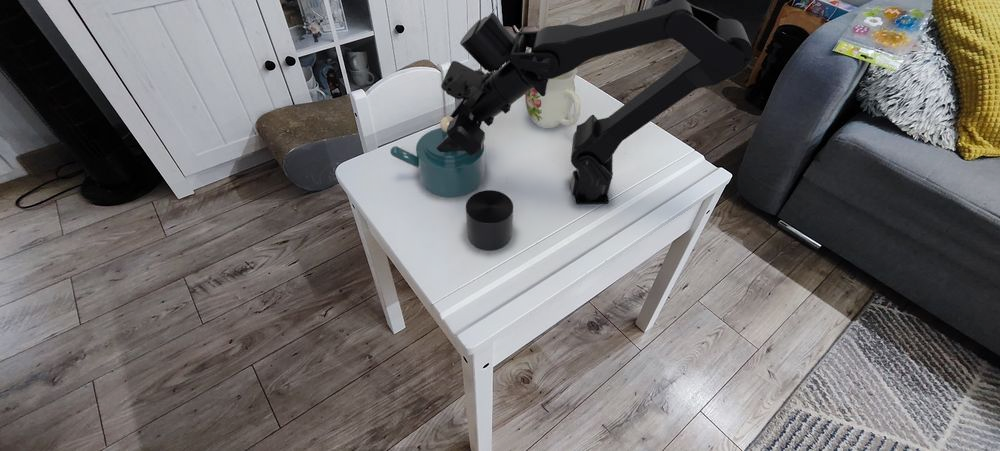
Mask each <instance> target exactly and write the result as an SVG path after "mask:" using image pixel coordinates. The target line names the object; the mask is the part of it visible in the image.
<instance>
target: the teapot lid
mask: <svg viewBox="0 0 1000 451" xmlns="http://www.w3.org/2000/svg"><path fill="white" fill-rule="evenodd" d="M453 119H454V118H453V117H451V115H447V116H446V115H445V116H444V117H443V118H441V120H440V123H439V126H440V127H438V128H439V129H438V128H435V129H436V130H435V129H433V130H434V131H433V132H431V133H430V134H429V135H428V136H427V138H426V140H425V145H426V149H427V150H428V152H429V153H431V154H432V155H434V156H436V157H439V158H443V159H454V158H459V157H462V156H464V155H466V154H468V153H467V152H466V151H450V152H440V151H438V150H437V146H438V145H439V144H440V143H441V142H442V140H443V139H444V138H445V137H446V136H447V135H448V134H447V128H448V125H449V123H450V121H452V120H453Z"/></svg>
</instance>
